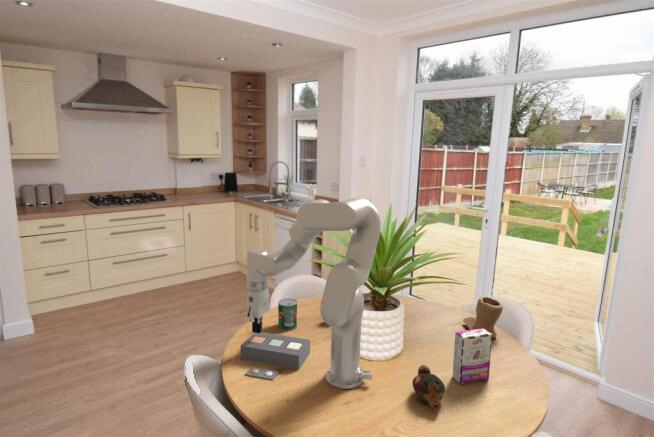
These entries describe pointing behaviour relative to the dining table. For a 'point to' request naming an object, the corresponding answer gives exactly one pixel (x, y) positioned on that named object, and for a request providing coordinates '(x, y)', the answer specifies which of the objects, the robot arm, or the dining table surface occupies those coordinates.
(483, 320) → the tan boot
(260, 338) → the terracotta key
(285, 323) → the canned tomato
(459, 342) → the candy bar box
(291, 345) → the off-white key
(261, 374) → the card
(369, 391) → the dining table surface
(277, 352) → the keypad housing
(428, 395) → the decorative turtle
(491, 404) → the dining table surface
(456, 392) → the dining table surface
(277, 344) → the sage key
